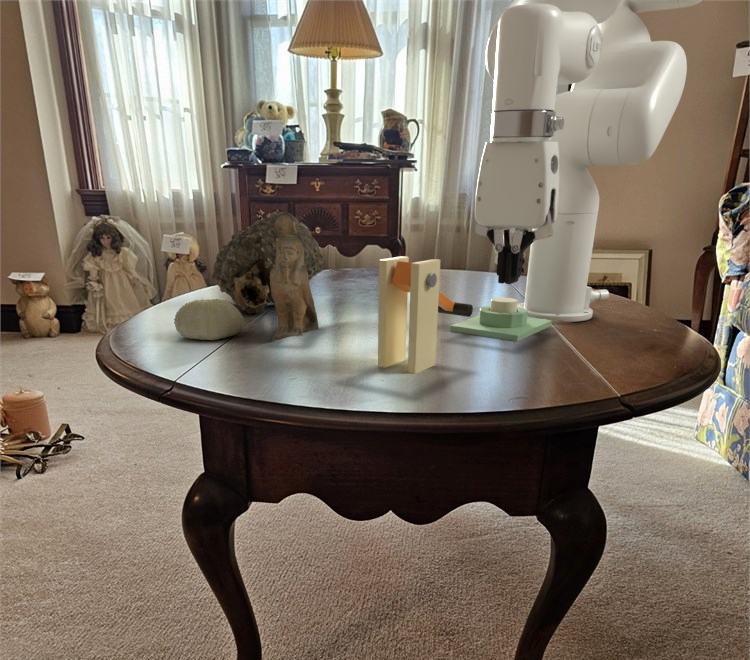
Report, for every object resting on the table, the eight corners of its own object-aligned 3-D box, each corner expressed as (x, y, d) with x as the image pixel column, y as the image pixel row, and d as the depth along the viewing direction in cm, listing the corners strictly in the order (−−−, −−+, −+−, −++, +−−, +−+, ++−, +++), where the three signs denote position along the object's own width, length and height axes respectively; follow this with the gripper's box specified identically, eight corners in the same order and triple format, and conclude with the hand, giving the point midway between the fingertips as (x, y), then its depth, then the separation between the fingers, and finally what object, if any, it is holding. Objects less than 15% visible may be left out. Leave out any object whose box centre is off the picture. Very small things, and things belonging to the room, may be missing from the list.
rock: (281, 195, 112) (266, 179, 98) (338, 262, 116) (332, 256, 101) (206, 271, 116) (182, 266, 102) (263, 333, 119) (248, 337, 105)
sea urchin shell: (174, 315, 95) (210, 274, 93) (217, 352, 98) (252, 314, 96) (161, 328, 87) (200, 284, 85) (208, 369, 90) (246, 327, 88)
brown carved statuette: (304, 365, 88) (292, 227, 77) (265, 362, 89) (248, 224, 78) (324, 328, 97) (316, 199, 86) (288, 326, 98) (276, 198, 87)
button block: (487, 326, 100) (489, 299, 98) (550, 335, 95) (553, 307, 93) (449, 341, 91) (451, 312, 89) (516, 352, 86) (519, 321, 84)
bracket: (401, 360, 81) (404, 251, 76) (465, 372, 77) (474, 257, 71) (343, 383, 73) (341, 261, 67) (411, 398, 68) (416, 269, 62)
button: (497, 309, 93) (498, 296, 93) (520, 312, 92) (521, 299, 91) (485, 313, 91) (486, 300, 90) (509, 316, 89) (511, 303, 88)
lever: (434, 317, 81) (439, 298, 81) (469, 322, 79) (475, 302, 78) (380, 282, 70) (386, 259, 70) (420, 286, 67) (426, 263, 67)
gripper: (590, 128, 80) (570, 283, 89) (481, 131, 88) (472, 273, 96) (568, 127, 75) (549, 292, 83) (453, 130, 82) (447, 281, 91)
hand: (508, 282), depth 90 cm, fingers closed
